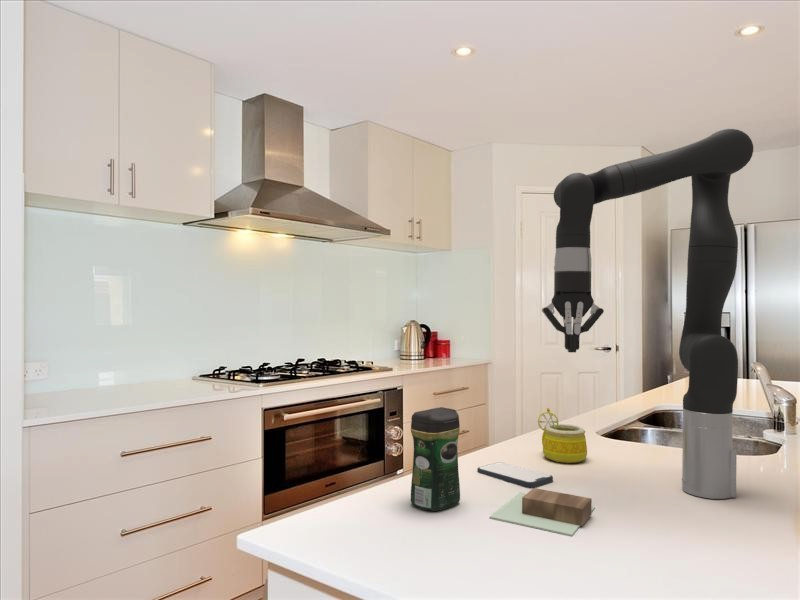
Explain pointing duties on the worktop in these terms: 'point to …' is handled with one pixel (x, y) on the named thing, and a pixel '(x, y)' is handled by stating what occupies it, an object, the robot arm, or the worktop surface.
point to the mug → (563, 441)
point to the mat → (531, 518)
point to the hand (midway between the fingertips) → (572, 352)
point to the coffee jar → (435, 459)
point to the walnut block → (557, 506)
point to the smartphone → (516, 475)
